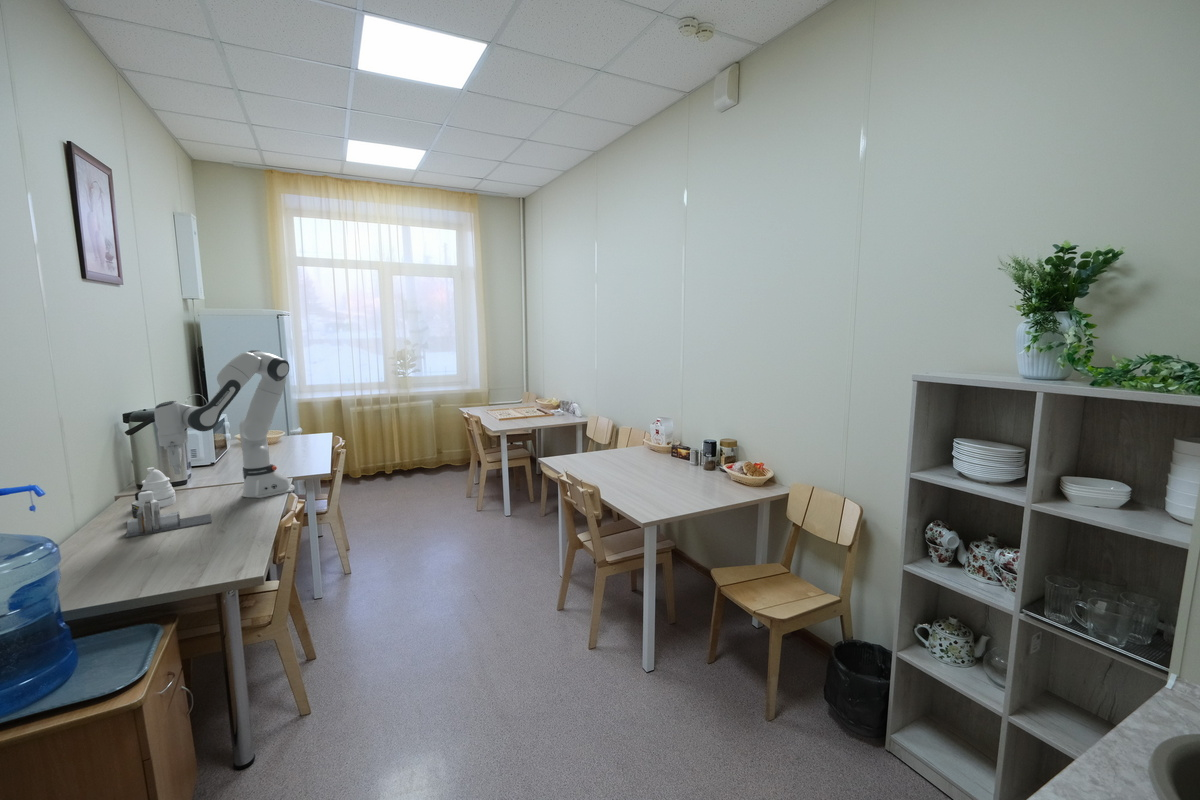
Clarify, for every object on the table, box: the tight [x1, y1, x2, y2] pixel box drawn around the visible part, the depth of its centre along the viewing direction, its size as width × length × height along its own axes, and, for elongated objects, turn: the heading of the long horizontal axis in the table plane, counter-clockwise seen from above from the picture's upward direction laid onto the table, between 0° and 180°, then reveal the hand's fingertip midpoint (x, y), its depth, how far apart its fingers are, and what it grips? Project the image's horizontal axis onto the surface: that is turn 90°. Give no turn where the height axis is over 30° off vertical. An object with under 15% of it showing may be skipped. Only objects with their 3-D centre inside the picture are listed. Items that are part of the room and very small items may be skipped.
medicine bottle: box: [131, 490, 161, 519], centre depth 222 cm, size 7×7×12 cm
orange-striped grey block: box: [126, 511, 181, 533], centre depth 211 cm, size 16×4×4 cm, turn 128°
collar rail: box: [125, 500, 213, 539], centre depth 213 cm, size 27×12×11 cm, turn 128°
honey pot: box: [140, 466, 177, 508], centre depth 239 cm, size 13×13×18 cm
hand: (178, 471), depth 218 cm, fingers open, 8 cm apart
